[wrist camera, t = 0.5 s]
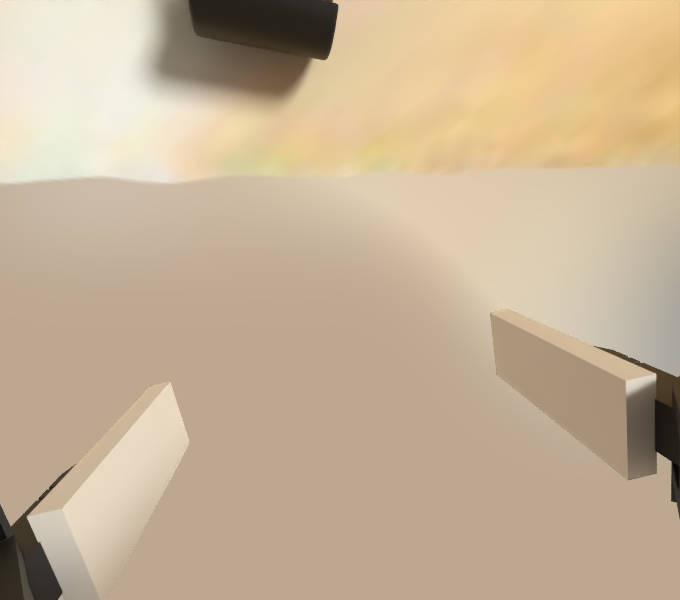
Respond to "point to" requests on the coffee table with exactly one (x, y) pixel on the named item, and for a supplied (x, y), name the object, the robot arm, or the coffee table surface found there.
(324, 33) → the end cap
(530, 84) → the coffee table surface
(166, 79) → the coffee table surface
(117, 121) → the coffee table surface
